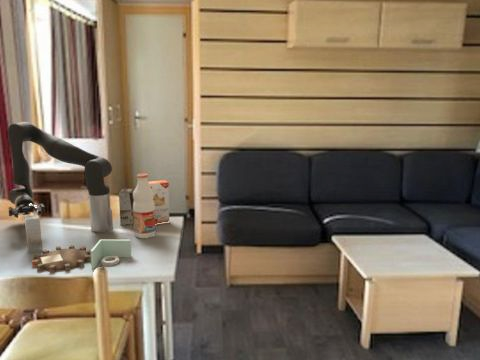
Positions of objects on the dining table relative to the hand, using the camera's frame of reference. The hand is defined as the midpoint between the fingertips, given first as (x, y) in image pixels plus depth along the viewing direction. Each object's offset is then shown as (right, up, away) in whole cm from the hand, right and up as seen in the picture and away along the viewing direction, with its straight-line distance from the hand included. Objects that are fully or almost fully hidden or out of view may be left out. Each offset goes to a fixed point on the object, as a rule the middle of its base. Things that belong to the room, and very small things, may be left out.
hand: (28, 214), depth 190 cm
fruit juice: (+47, -10, +12) cm, 50 cm away
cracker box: (+48, -7, +27) cm, 56 cm away
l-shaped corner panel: (+41, -18, -18) cm, 48 cm away
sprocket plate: (+21, -17, -17) cm, 32 cm away
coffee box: (+35, -6, +29) cm, 46 cm away
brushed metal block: (+6, -14, -7) cm, 17 cm away
